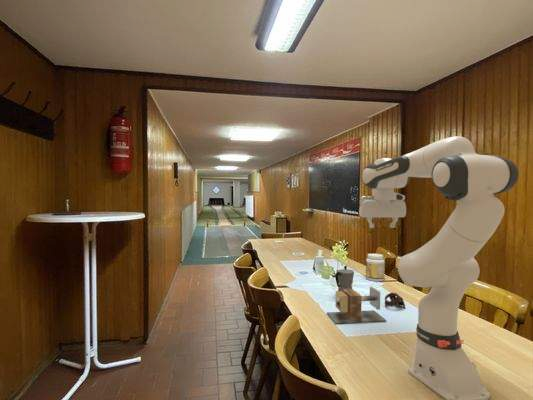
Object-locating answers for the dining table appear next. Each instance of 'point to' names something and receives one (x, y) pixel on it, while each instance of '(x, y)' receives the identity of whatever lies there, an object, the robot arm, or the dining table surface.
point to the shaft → (370, 298)
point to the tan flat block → (342, 302)
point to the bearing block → (354, 311)
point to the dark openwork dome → (394, 300)
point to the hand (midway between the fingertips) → (382, 227)
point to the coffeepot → (344, 278)
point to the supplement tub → (375, 267)
